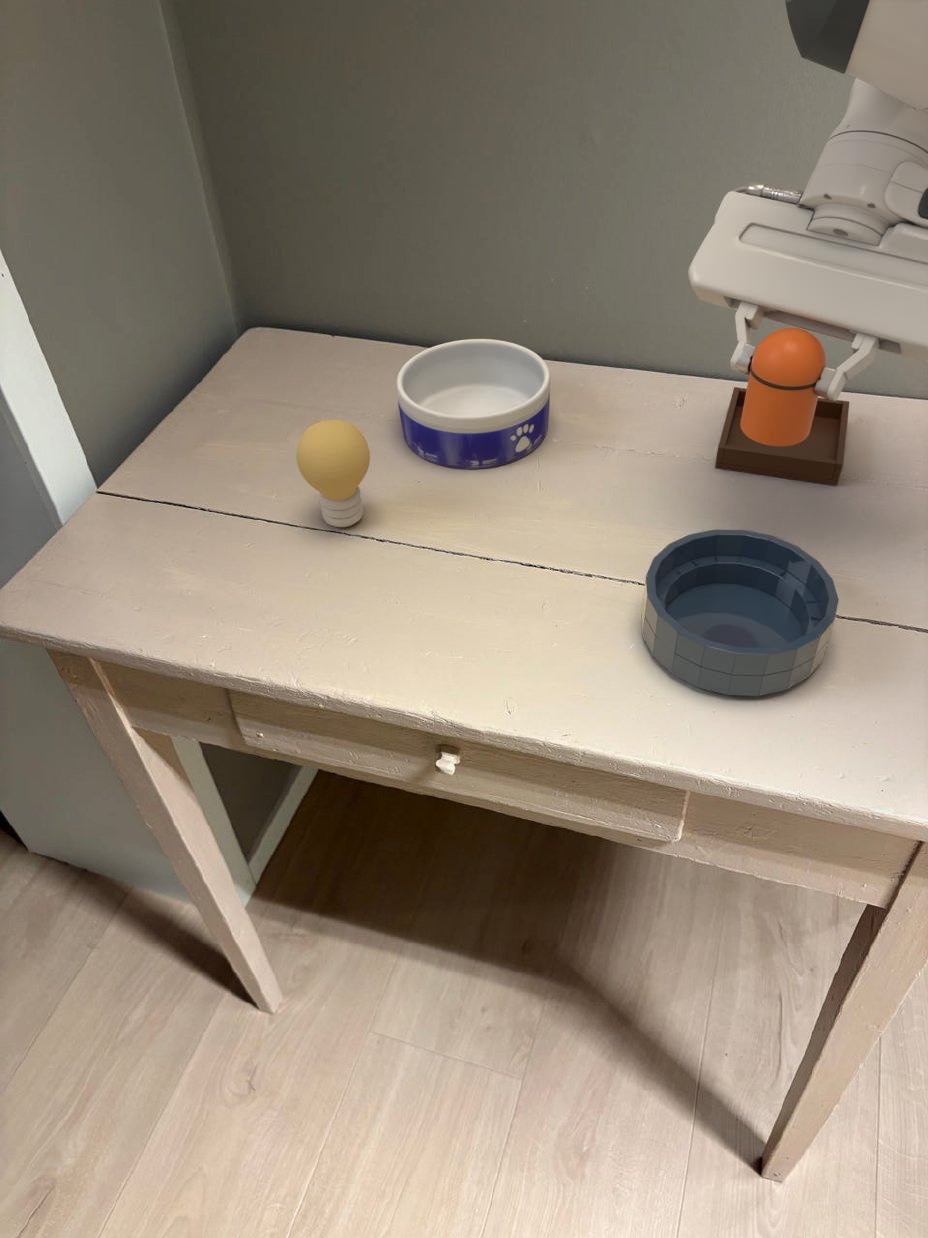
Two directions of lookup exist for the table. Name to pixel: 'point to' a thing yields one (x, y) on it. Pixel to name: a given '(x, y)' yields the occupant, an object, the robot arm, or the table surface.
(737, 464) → the tray
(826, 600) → the glazed bowl
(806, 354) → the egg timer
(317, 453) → the light bulb
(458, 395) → the dog bowl
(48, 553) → the table surface
